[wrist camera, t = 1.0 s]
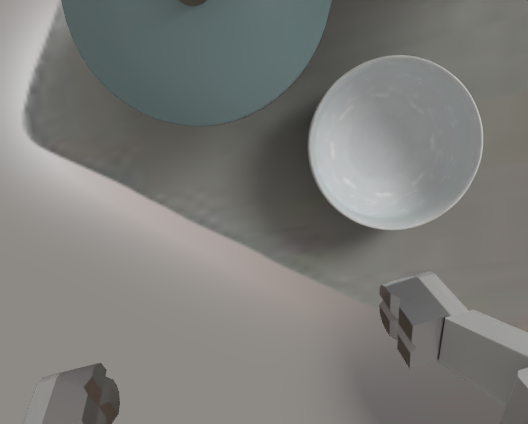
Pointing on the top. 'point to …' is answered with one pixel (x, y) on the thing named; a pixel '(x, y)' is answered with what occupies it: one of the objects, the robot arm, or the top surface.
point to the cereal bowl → (395, 142)
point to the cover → (197, 52)
